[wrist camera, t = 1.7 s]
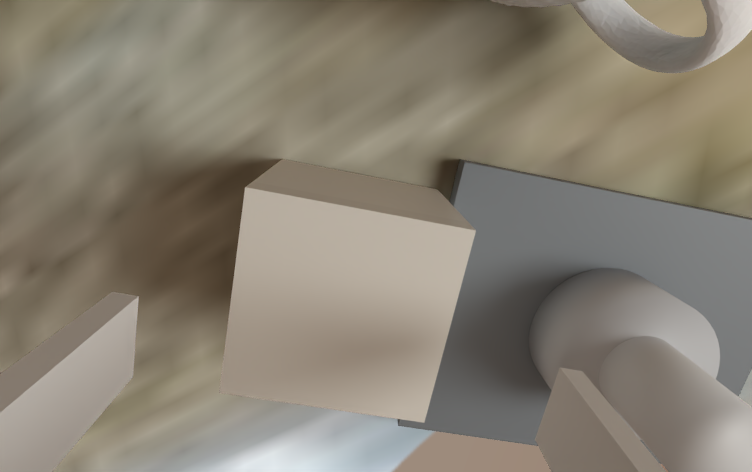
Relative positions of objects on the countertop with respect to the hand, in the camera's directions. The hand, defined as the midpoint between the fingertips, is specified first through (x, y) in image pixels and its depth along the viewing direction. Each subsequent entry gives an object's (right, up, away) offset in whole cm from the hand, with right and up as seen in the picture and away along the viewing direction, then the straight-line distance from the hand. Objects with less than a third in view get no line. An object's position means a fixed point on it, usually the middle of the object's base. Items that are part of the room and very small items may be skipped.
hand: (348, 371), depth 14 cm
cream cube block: (-1, +4, +11) cm, 12 cm away
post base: (+13, -1, +13) cm, 19 cm away
